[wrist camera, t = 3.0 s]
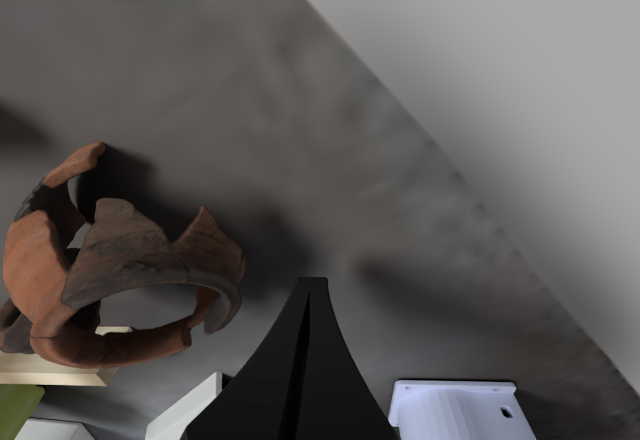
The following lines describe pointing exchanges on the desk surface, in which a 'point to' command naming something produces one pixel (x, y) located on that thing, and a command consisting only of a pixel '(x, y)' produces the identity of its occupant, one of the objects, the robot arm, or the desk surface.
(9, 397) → the plant pot
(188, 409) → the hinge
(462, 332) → the desk surface
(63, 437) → the medicine bottle
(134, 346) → the pottery mug
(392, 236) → the desk surface
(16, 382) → the cradle
